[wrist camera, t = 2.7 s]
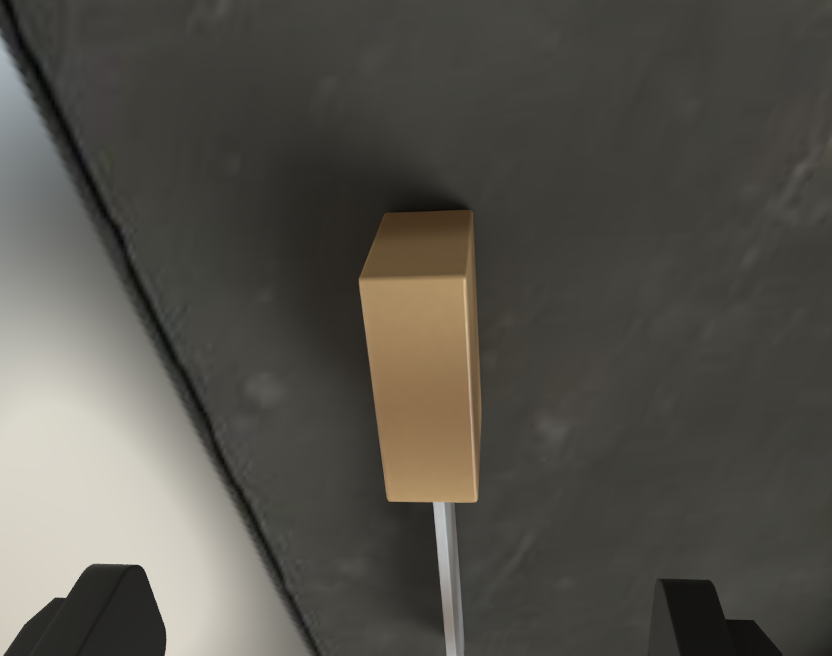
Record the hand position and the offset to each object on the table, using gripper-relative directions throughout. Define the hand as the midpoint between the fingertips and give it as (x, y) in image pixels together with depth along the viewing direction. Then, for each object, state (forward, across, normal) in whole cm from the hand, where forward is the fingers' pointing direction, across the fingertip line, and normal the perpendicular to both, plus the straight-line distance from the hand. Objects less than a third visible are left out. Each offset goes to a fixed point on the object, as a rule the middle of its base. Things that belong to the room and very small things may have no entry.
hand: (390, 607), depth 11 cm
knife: (+9, 0, +5) cm, 10 cm away
